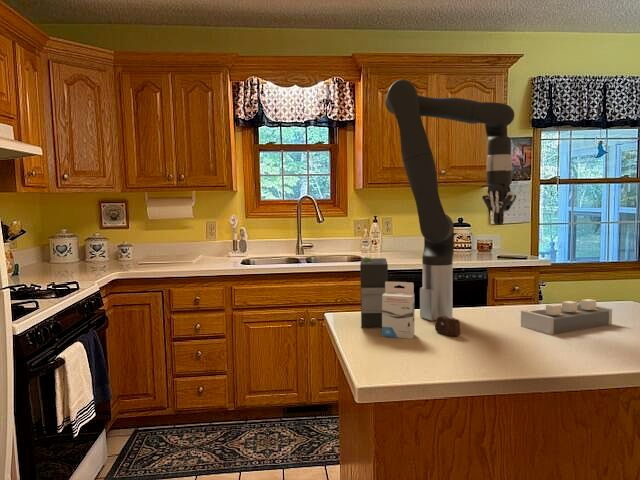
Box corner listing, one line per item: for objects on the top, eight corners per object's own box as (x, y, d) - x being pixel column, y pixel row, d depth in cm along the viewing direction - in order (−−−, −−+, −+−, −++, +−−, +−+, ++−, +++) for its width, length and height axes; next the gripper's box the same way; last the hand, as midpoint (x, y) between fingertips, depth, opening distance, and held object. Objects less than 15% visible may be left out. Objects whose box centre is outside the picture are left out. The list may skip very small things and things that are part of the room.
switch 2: (569, 312, 140) (569, 303, 140) (561, 310, 143) (562, 301, 142) (577, 310, 142) (577, 302, 141) (569, 309, 144) (569, 300, 144)
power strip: (550, 334, 134) (550, 318, 133) (520, 326, 143) (521, 310, 143) (611, 324, 143) (612, 308, 143) (580, 316, 153) (580, 302, 152)
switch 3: (588, 309, 142) (588, 301, 142) (580, 308, 145) (581, 299, 145) (596, 308, 144) (596, 300, 144) (588, 307, 146) (588, 298, 146)
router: (386, 315, 161) (385, 254, 160) (388, 329, 143) (387, 261, 142) (361, 314, 162) (361, 254, 160) (361, 329, 144) (360, 261, 142)
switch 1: (552, 315, 137) (553, 306, 137) (545, 313, 139) (545, 304, 139) (561, 313, 138) (561, 305, 138) (553, 312, 141) (554, 303, 140)
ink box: (381, 337, 135) (380, 284, 134) (384, 332, 140) (384, 281, 139) (412, 339, 132) (412, 285, 131) (415, 334, 137) (414, 282, 136)
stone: (434, 332, 139) (433, 314, 139) (441, 330, 141) (441, 313, 140) (455, 338, 133) (455, 320, 132) (462, 336, 134) (462, 318, 134)
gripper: (475, 171, 160) (475, 224, 161) (505, 168, 148) (504, 225, 149) (493, 171, 163) (492, 223, 164) (524, 168, 151) (523, 224, 152)
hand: (498, 224), depth 157 cm, fingers closed
